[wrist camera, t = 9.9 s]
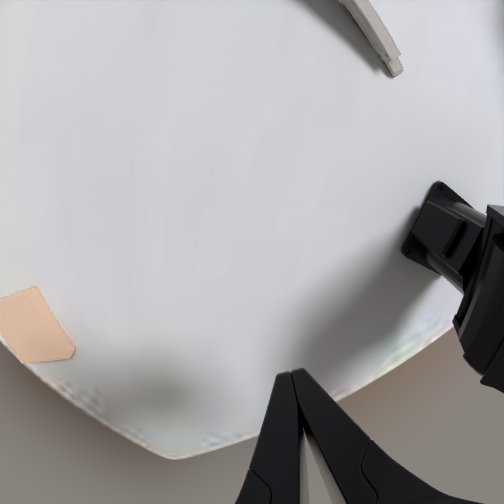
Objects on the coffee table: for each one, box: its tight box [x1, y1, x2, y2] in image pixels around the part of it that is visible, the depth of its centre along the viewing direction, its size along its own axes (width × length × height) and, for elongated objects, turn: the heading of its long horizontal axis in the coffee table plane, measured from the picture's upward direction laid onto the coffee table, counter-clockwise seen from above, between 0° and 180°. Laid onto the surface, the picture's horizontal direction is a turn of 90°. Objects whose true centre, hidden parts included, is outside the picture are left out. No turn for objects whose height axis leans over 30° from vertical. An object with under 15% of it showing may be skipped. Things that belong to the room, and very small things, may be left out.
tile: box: [0, 285, 76, 363], centre depth 21 cm, size 2×7×8 cm
